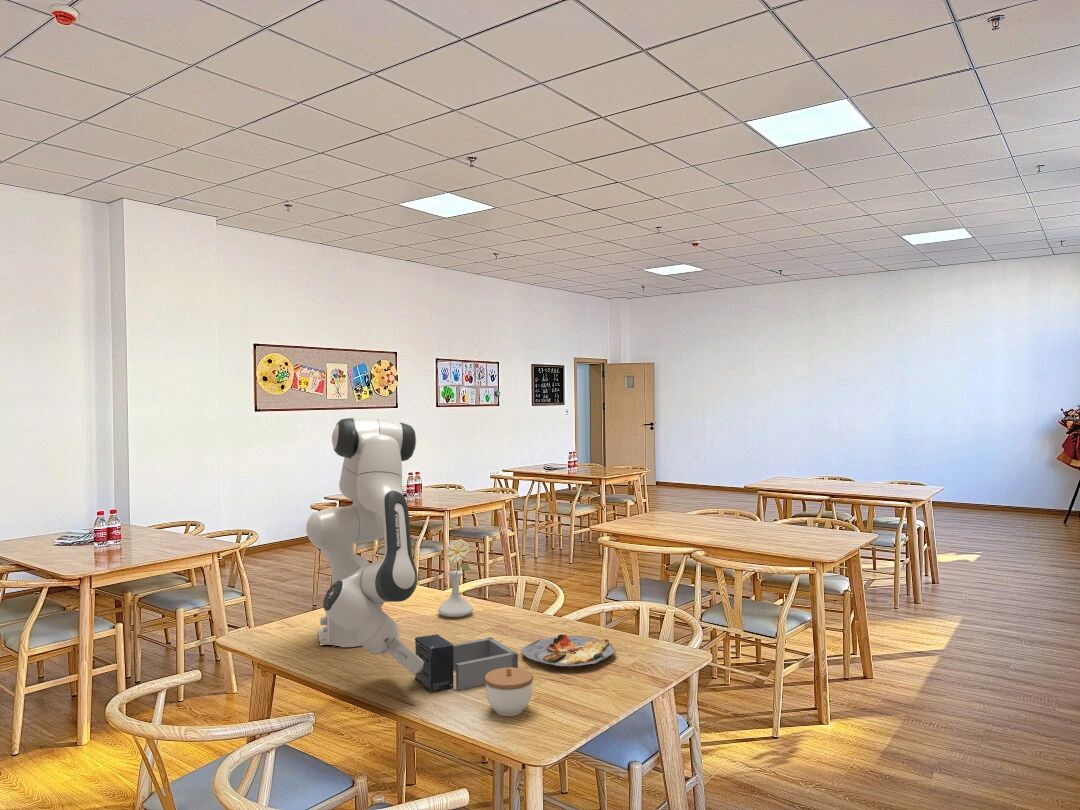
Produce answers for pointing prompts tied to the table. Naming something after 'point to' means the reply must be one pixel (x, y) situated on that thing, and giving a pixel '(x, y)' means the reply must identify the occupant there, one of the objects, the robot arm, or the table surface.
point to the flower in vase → (456, 582)
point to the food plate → (568, 650)
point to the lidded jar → (509, 690)
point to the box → (480, 661)
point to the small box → (435, 662)
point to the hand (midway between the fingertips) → (419, 668)
